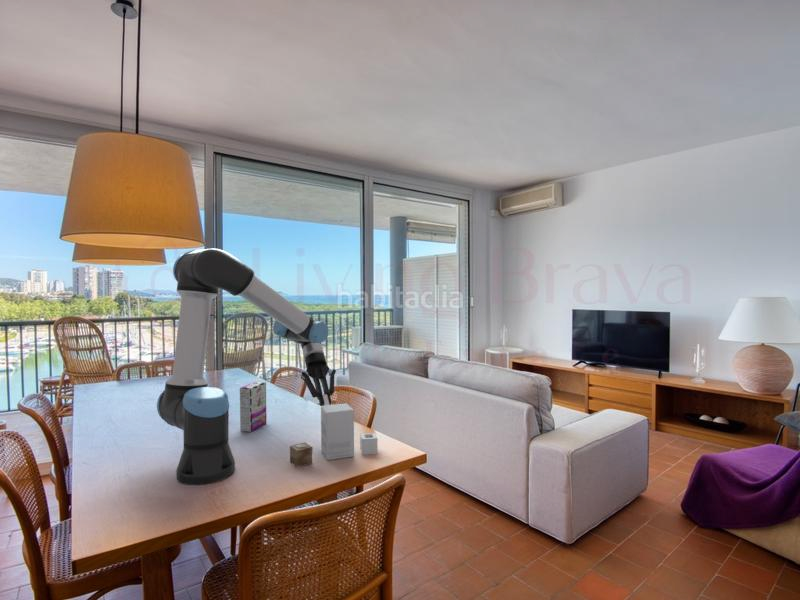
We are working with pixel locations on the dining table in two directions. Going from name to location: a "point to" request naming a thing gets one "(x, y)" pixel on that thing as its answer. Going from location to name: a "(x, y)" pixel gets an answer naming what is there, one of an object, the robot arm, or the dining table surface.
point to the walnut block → (301, 454)
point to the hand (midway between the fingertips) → (328, 413)
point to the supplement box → (337, 431)
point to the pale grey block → (368, 443)
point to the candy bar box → (252, 406)
